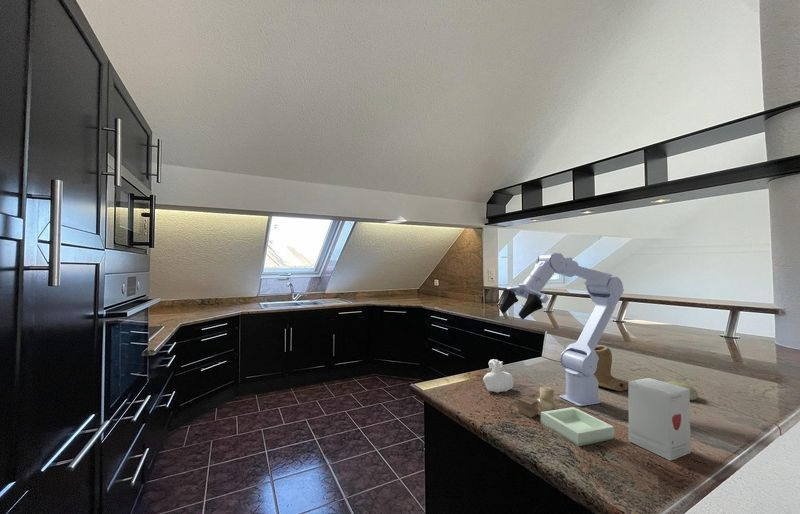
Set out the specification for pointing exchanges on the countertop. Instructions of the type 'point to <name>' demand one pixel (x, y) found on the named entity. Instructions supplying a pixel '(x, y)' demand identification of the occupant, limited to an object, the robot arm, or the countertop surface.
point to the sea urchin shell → (692, 391)
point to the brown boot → (607, 370)
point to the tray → (577, 426)
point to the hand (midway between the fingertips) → (510, 313)
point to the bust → (497, 378)
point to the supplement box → (660, 417)
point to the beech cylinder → (546, 398)
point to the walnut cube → (528, 406)
